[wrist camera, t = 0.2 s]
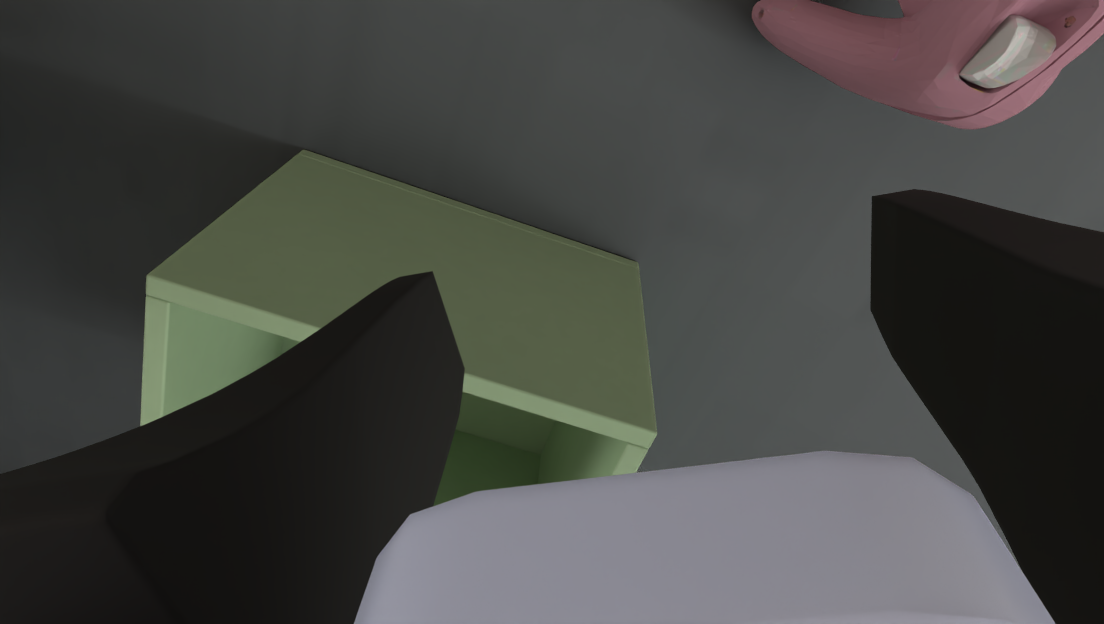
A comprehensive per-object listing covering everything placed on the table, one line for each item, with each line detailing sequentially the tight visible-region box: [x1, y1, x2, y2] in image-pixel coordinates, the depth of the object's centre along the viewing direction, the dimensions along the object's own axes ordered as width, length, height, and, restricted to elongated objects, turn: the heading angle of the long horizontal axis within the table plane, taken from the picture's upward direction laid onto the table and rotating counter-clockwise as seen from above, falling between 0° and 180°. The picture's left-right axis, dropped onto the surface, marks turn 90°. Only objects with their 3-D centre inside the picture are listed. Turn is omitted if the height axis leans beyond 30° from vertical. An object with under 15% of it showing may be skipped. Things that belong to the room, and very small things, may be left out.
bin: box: [140, 150, 657, 506], centre depth 20 cm, size 9×11×8 cm
